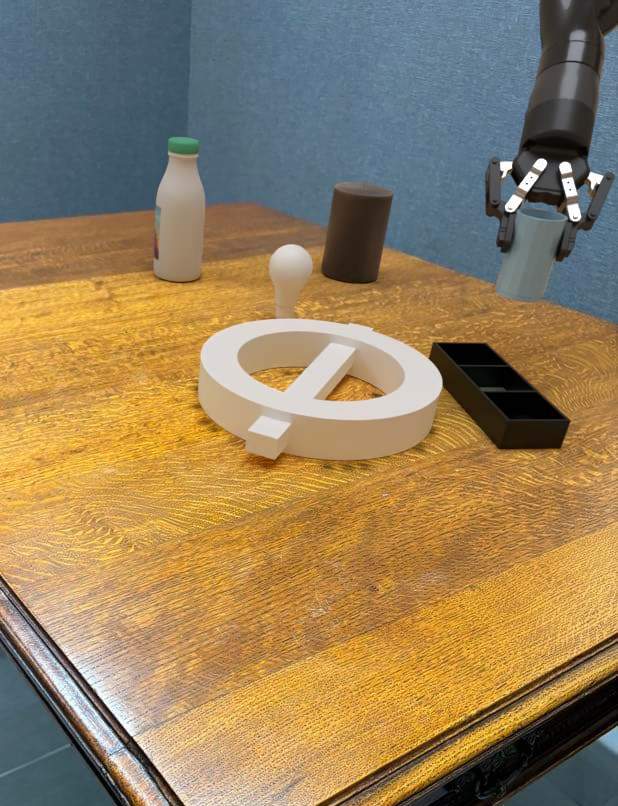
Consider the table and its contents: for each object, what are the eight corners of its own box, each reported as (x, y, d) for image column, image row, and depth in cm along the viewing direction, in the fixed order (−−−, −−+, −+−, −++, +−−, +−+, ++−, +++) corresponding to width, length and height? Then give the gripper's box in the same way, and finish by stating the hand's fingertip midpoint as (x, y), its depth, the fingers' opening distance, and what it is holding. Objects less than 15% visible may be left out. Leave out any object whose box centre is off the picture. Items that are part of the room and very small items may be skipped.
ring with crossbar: (360, 346, 112) (367, 313, 109) (480, 444, 91) (492, 406, 88) (167, 361, 103) (169, 325, 100) (251, 474, 82) (256, 432, 79)
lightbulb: (292, 334, 114) (303, 254, 108) (254, 323, 116) (263, 244, 110) (311, 322, 118) (323, 245, 112) (274, 311, 121) (284, 235, 114)
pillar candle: (350, 286, 133) (367, 189, 124) (309, 269, 139) (322, 175, 130) (389, 278, 138) (408, 184, 129) (348, 261, 144) (363, 171, 135)
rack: (479, 367, 110) (486, 342, 107) (560, 448, 92) (571, 420, 90) (426, 366, 108) (432, 341, 106) (498, 449, 91) (508, 421, 89)
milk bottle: (209, 275, 132) (220, 140, 120) (183, 286, 127) (191, 146, 115) (171, 264, 135) (177, 132, 124) (143, 275, 130) (147, 137, 118)
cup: (528, 286, 97) (552, 208, 92) (550, 303, 93) (577, 221, 88) (487, 285, 96) (508, 206, 91) (507, 302, 92) (531, 219, 87)
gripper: (502, 88, 90) (473, 225, 88) (638, 104, 88) (612, 245, 85) (489, 133, 98) (461, 261, 95) (613, 149, 95) (589, 280, 93)
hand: (533, 253), depth 90 cm, fingers closed on cup, 5 cm apart
